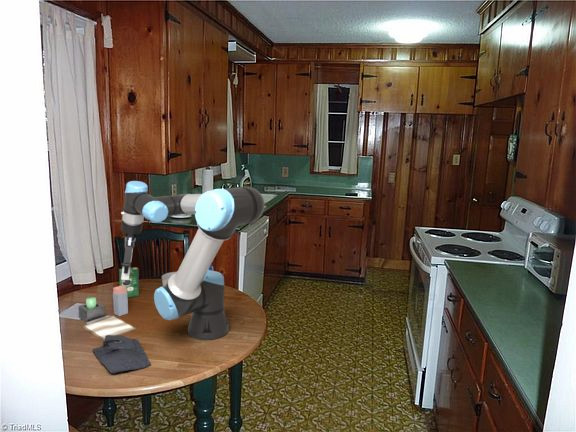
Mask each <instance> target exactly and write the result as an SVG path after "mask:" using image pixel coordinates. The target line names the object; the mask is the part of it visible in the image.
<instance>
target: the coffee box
mask: <svg viewBox="0 0 576 432" xmlns="http://www.w3.org/2000/svg"><path fill="white" fill-rule="evenodd" d="M118 273H119V274H118V277H119V278H118V280H119V281H118V282H119V284H118V285H119V286H124V287H126V291H127V297H128V298H133V297H139V295H140V294H139V293H140V292H139V287H140V286H139V268H138V267H130V274H129V280H121V276H122V268H119V269H118Z"/></svg>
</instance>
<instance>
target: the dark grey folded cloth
mask: <svg viewBox="0 0 576 432" xmlns="http://www.w3.org/2000/svg"><path fill="white" fill-rule="evenodd" d="M92 352H93V353H94V355H95V357H96V358H97V360H98V361H100V363H101V364H102V365H103V366H104V367H105V368H106V370H107V371H108V372H110V373H111V374H117V373H122V372H127V371H135V370H136V371H137V370H141V369H146V368H149V367H150V366H152V362H151V361H150V360H149V357H148V356H147V353H146V351H145V349H144V348H143V347H142V344H141V343H140V341H139V339H137V338H130V337H126V336H125V335H123V334H122V335H106V336H105V340H104V341H103V340H102V345H100V346H98V347H94V348H92Z"/></svg>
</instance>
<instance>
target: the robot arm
mask: <svg viewBox="0 0 576 432" xmlns="http://www.w3.org/2000/svg"><path fill="white" fill-rule="evenodd" d="M148 191H149V190H148V185H147V183H145V182H144V181H140V180H139V181H138V180H131V181H128V182H126V186H125V191H124V200H123V210H122V211H121V212H120V214H121V215H122V217H121V220H122V221H121V226H120V231H121V232H122V233H124V235H125V236H124V248H125V249H124V257H123V262H121V263H120V265H121V266H122V268H121V269H122V276H121V280H129V274H130V268H131V267H132V266H131V264H132V258H133V250H134V248H135V246H136V244H135V242H136V240H137V235H139V234H141V233H142V231H143V225H144V224H143V223H144V219H145V220H147V221H150V222H151V223H153V224H160V223H162V222H163V221H165V219H167V217H172V216H178V215H179V216H180V215H181V216H182V215H185V216H187V215H194V217H195V220H196V224H197V225H196V226H197V227H198V229H197V230H196V233H195V234H194V235H195V236H194V237H193V239H192V241H191V244H190V245H189V247H188V250H187V251H186V253H185V255H184V258H183V260H182V261H181V264H180V265H179V268H178V270H177V271H178V272H177V273H175V274H173V275H172V276H171V277H170V278H169V280H168V282H167V284H166V285H165V286H164V287H163V286H159V287H158V288H156V289H155V291H154V295H153V300H154V301H153V302H154V306H155V308H156V310H157V312H158V314H159V315H160V316H161V317H162V319H164V320H167V321H172V320H177V319H179V318H182V317H184V316H187V315H189V314H191V317H190V318H189V319H190V320H189V323H188V325H187V333H188V335H189V336H190V337H191V338H193V339H196V340H204V341H205V340H215V339H220V338H222V337H224V336H225V335H227V334H228V332H229V330H230V329H229V328H230V327H229V326H230V324H229V321H228V319H227V315H226V313H225V277H224V275H223V274H222V273H221V272H219V271H215V270H213V271H211V270H208V269H209V267H210V265H211V264H213V261H214V259H215V257H216V256H217V254H218V252H219V250H220V248H221V247H222V245H223V242H224V241H227V240H229V239H231V238H232V236H233V234H234V233H235V231H236V229H238V227H239V226H243V225H247V224H252V223H253V222H254V223H255V222H256V221H257V220H259V219H260V217H262V215H263V213H264V210H265V199H264V197H263V195H262V194H261V192H260V191H258V190H257V189H255V188H254V187H250V186H241V187H240V186H239V187H232V188H216V189H211V190H207V191H206V192H204V193H192V194H191V193H181V194H173V195H163V196H153V195H151V194H149V192H148Z"/></svg>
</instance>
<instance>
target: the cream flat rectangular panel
mask: <svg viewBox="0 0 576 432" xmlns="http://www.w3.org/2000/svg"><path fill="white" fill-rule="evenodd" d="M80 327H81V328H82V329H84V330H85V331H87V332H88V333H90V334H92V335H93V336H94V337H97V338H99V339H100V340H101V341H102V342H103V341H104V340H105V336H106V335H122V336H123V335H124V334H127V333H130V332H132V331H136V330H137V329H138V328H137V327H135V326H134V325H132V324H130V323H128V322H127V321H124V320H123V319H121V318H119V316H116V315H114V314H113V315H110V314H109V315H105V317H102V318H99V319H95V320H92V321H89V322H85V323H83V324H82V325H80Z"/></svg>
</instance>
